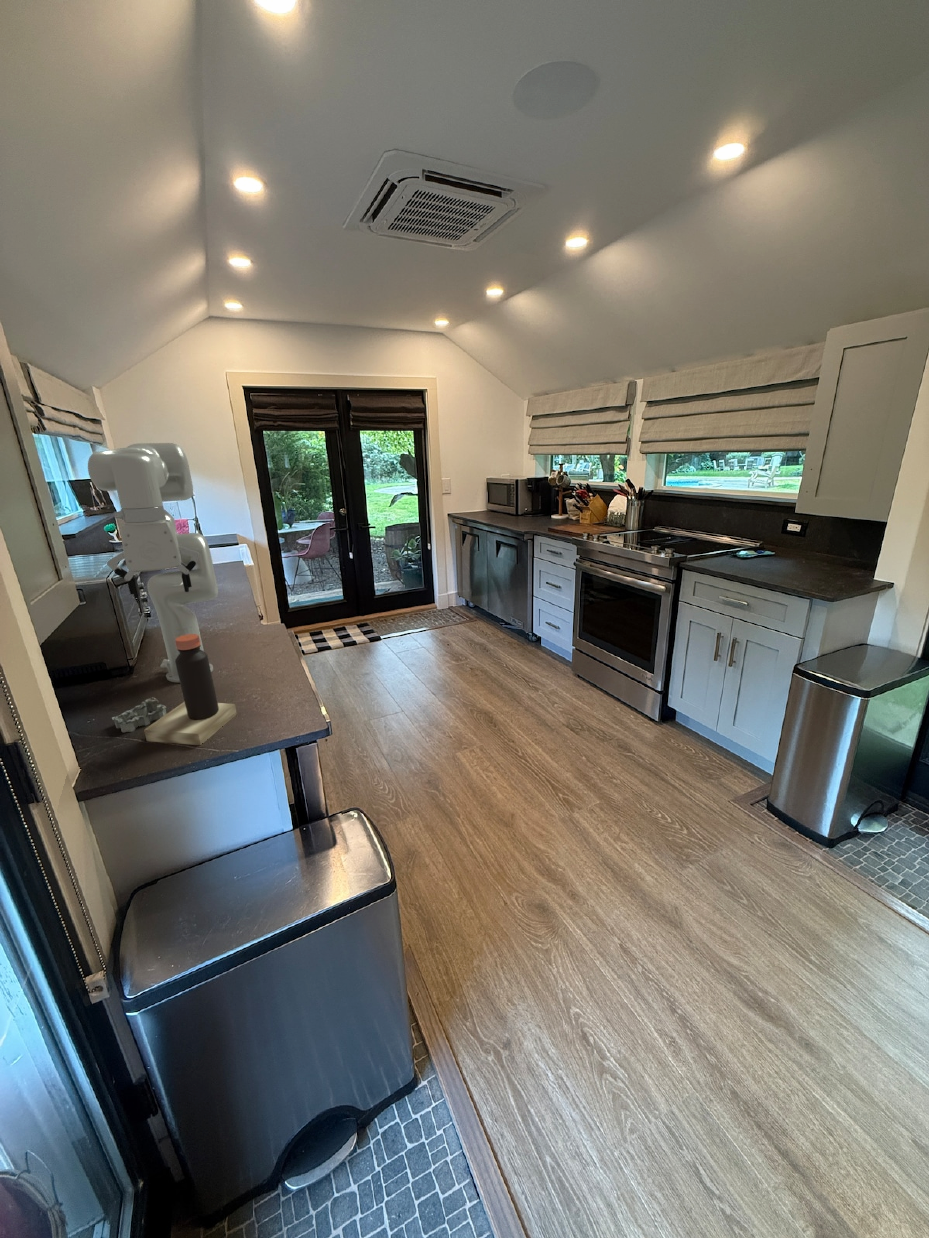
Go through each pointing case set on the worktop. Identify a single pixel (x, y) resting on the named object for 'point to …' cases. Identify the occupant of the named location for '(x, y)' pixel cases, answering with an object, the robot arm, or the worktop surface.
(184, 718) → the maple base
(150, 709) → the egg carton
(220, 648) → the worktop surface
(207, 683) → the vinegar
